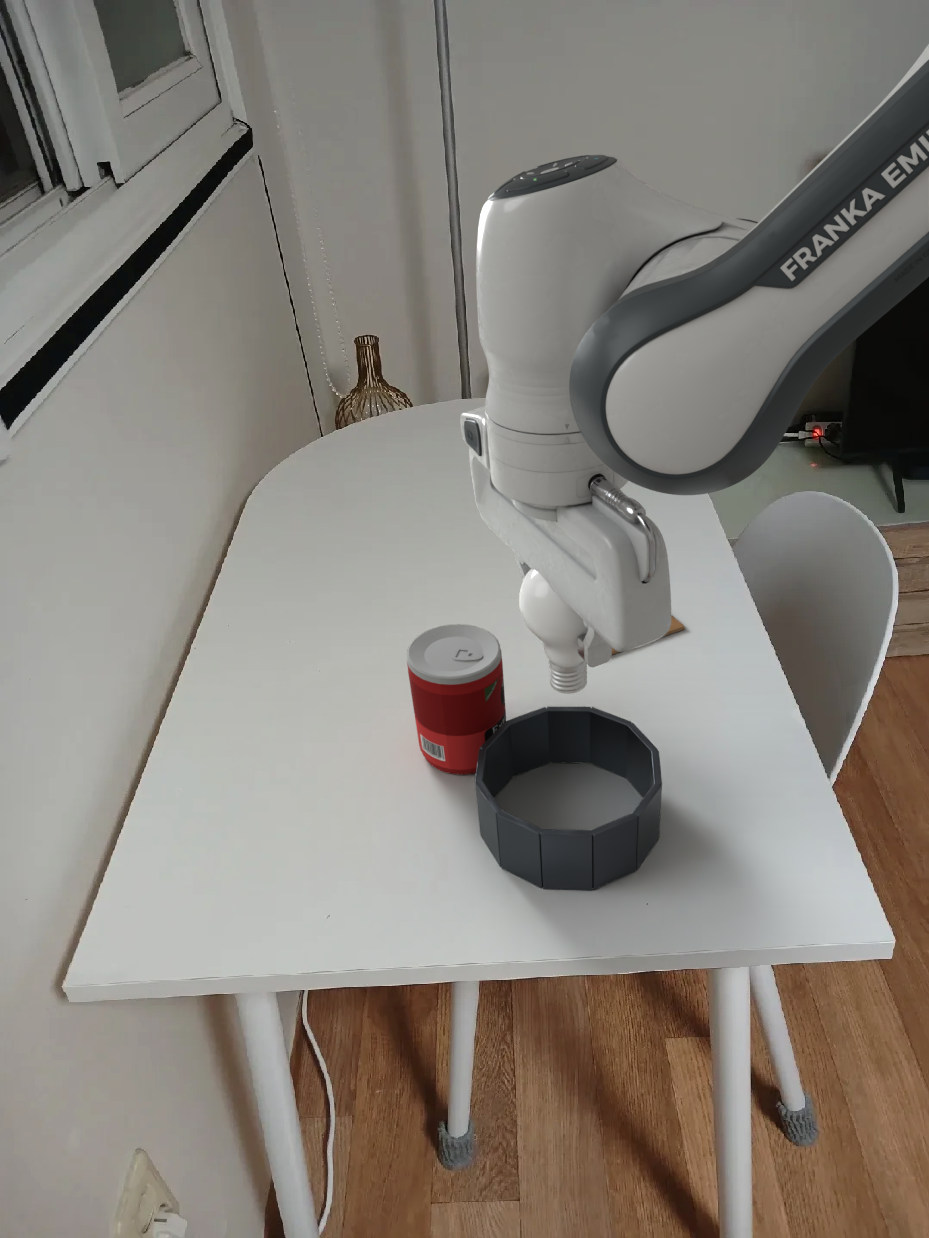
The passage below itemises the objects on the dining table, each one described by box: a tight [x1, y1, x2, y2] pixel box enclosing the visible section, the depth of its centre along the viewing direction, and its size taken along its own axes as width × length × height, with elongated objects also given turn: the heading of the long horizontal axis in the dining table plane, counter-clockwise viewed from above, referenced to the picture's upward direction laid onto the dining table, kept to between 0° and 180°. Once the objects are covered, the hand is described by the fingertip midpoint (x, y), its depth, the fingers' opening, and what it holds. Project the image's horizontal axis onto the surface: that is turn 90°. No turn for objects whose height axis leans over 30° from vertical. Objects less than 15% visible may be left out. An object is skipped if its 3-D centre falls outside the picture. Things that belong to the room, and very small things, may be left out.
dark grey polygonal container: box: [474, 705, 663, 891], centre depth 76 cm, size 14×14×6 cm
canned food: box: [406, 623, 507, 775], centre depth 82 cm, size 8×8×11 cm
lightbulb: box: [518, 569, 588, 695], centre depth 66 cm, size 6×6×11 cm
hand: (566, 630), depth 66 cm, fingers closed on lightbulb, 6 cm apart
